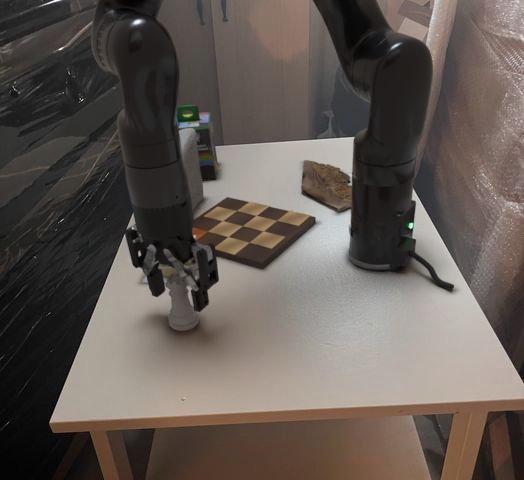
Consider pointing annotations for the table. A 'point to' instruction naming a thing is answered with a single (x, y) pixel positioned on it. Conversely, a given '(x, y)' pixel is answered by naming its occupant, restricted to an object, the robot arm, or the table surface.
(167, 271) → the stacked layers on plate
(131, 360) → the table surface
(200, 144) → the chalk box
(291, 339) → the table surface
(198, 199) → the decorative stone
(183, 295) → the rook chess piece
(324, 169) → the wooden fragment
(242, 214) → the game board
